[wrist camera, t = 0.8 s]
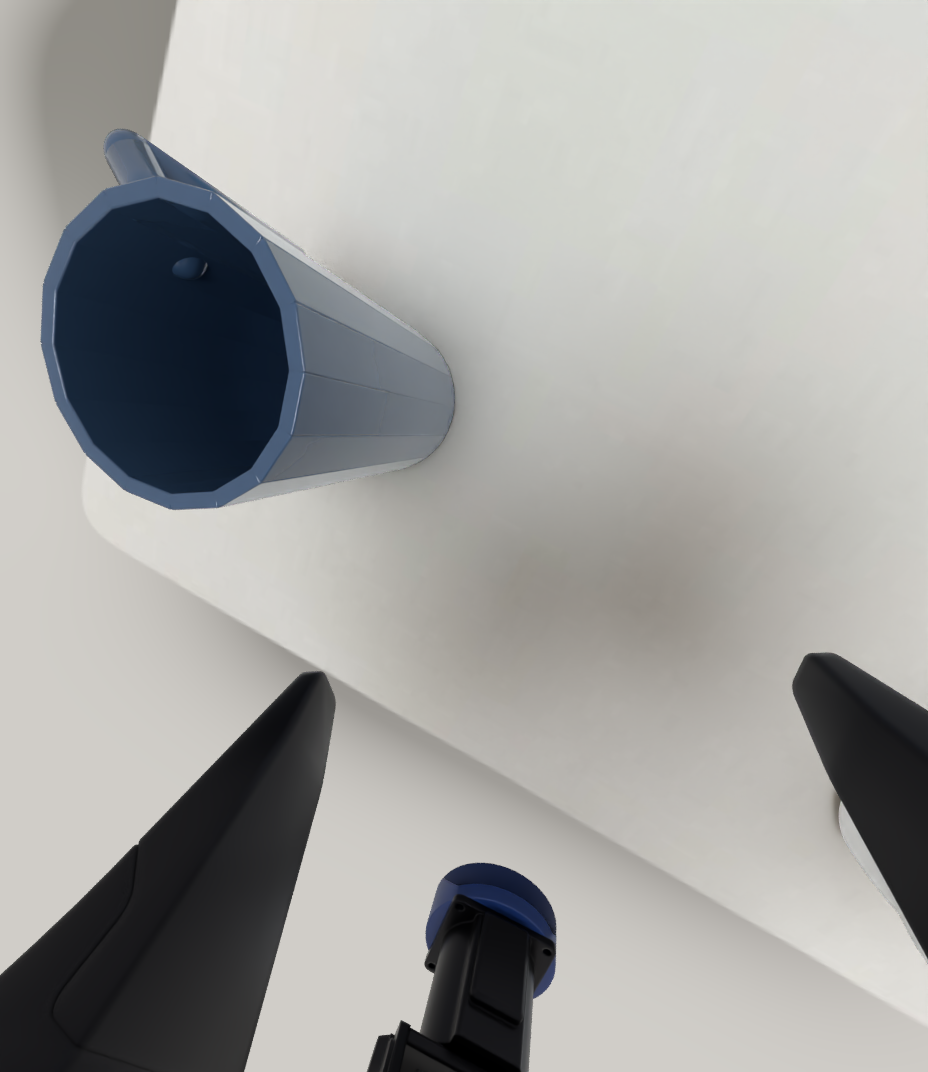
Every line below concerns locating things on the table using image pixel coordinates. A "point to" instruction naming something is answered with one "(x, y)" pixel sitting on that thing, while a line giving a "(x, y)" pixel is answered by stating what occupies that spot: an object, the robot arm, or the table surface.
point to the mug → (223, 349)
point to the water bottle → (870, 867)
